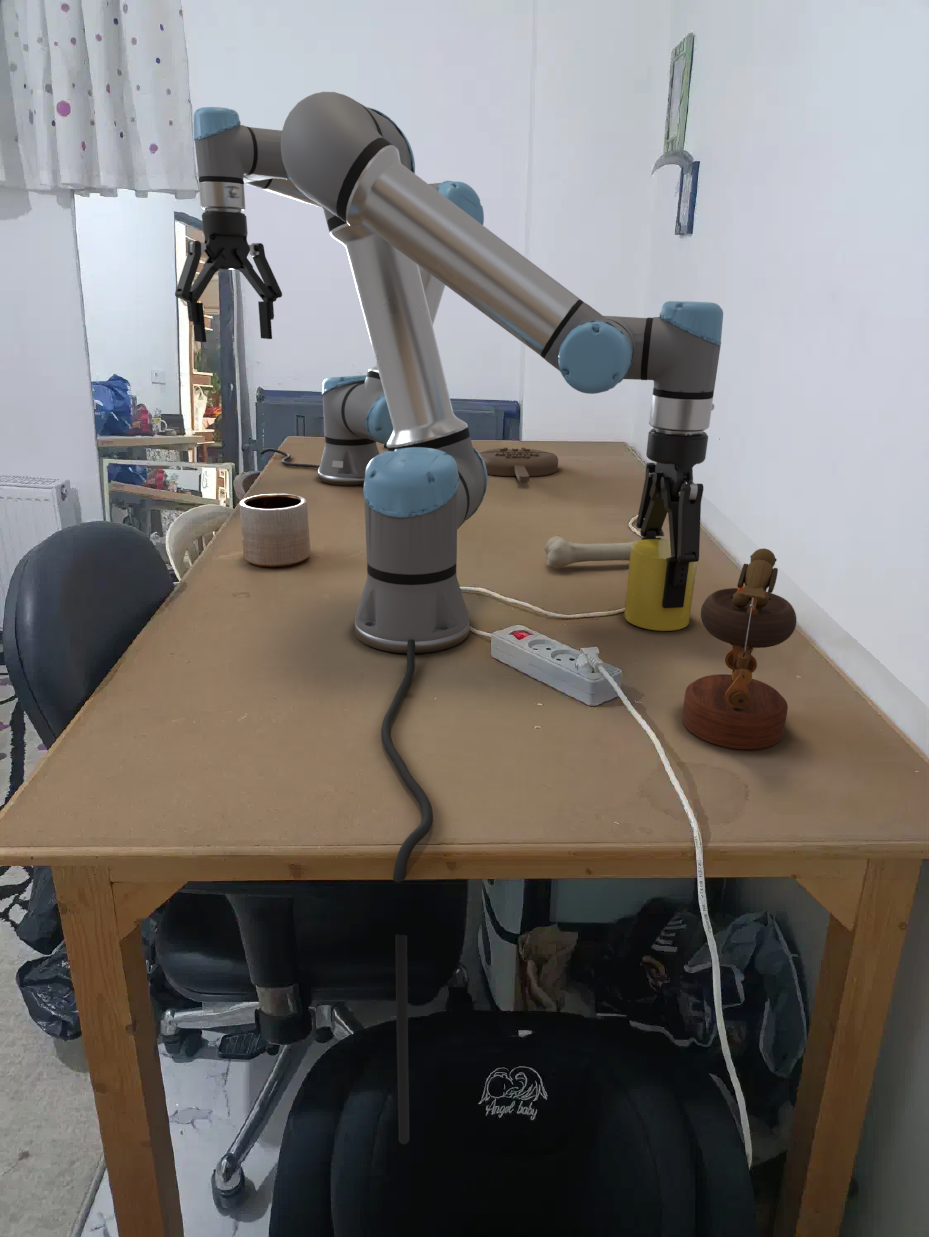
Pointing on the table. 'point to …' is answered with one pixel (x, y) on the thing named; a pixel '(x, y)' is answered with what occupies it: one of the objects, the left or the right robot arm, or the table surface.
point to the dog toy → (583, 552)
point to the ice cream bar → (519, 462)
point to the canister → (654, 588)
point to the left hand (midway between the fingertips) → (234, 340)
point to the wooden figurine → (742, 662)
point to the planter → (275, 529)
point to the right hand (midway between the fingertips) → (659, 593)
